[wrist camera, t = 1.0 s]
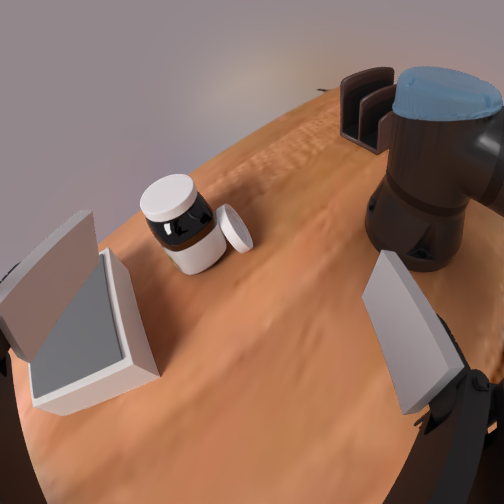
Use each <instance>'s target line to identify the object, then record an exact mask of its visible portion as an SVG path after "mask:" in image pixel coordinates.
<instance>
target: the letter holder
mask: <svg viewBox="0 0 504 504" xmlns="http://www.w3.org/2000/svg"><path fill="white" fill-rule="evenodd" d="M393 83H394V69H393V68H390V67H377V68H372V69H368V70H364V71H361V72H358V73H355V74H352V75H350V76H348V77H346V78H344V79H343V80H342V82H341V85H340V105H341V113H340V114H341V118H340V121H341V128H340V135H341V136H342V137H344V138H346V139H348V140H350V141H352V142H354V143H356V144H358V145H360V146H361V147H363V148H365V149H367V150H369V151H371V152H373V153H374V154H376V155H379V154H380V153H382V152H383V151H385V150H387V149H388V148H390V141H391V132H392V123H393V108H392V106H393V103H394V101H395V95H396V87H397V84H395V85H393Z"/></svg>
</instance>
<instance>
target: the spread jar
mask: <svg viewBox="0 0 504 504" xmlns="http://www.w3.org/2000/svg"><path fill="white" fill-rule="evenodd" d="M140 207H141V209H142V211H143V212H144V214H145V216H146V221H147V224H148V226H149V228H150V230H151V231H152V233H153V235H154V237H155V238H156V240H157V241H158V242H159V244H160V245H161V247H162V248H163V250H164V251H165V253H166V254H167V256H168V257H169V258H170V260H171V261H172V262H173V264H174V265H175V266H176V267H177V268H178V269H179V270H180V271H182V272H183V273H185V274H187V275H196V274H199V273H202V272H204V271H206V270H207V269H209V268H210V267H212V266H213V265H214V264H215V263H216V262H217V261H218V260H219V259H220V258H221V257H222V256H223V254H224V252H225V250H226V241H225V238H224V235H223V233H224V234H225V236H226V238H227V239H228V241H229V242H230V243H231V245H232V246H233V247H234V248H235V249H236V250H237V251H239V252H240V253H245V252H247V251H249V250H250V249H252V248H253V242H252V238H251V236H250V234H249V231H248V229H247V228H246V226H245V224H244V222H243V221H242V219H241V218H240V216H239V215H238V214H237V212H236V211H235V210H234V209H233V208H232V207H231V206H230V205H229V204H227V203H226V204H224V205H222V206H221V207H219V208H217V210H216V216H215V214H214V212H213V210H212V209H211V207H210V205H209V204H208V203H207V201H206V200H205V199H204V197H203V196H202V195H201V194H200V193H199V192H198V191H197V189H196V187H195V184H194V182H193V180H192V178H191V177H190V176H188V175H185V174H173V175H169V176H166V177H163V178H161V179H159V180H158V181H156V182H155V183H153V184H152V185H150V186H149V188H147V189H146V191H145V192H144V194H143V195H142V197H141V200H140ZM216 217H217V218H216ZM221 229H222V230H221ZM222 231H223V232H222Z"/></svg>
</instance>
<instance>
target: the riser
mask: <svg viewBox="0 0 504 504" xmlns="http://www.w3.org/2000/svg"><path fill="white" fill-rule="evenodd" d="M99 258H100V263H99V264H98V265H97V266H96V268H95V269H94V270H93V272H92V273H91V274H90V276H89V277H88V278H87V279H86V281H85V282H84V283H83V285H82V286H81V288H80V289H79V290H78V292H77V293H76V294H75V296H74V297H73V299H72V300H71V301H70V303H69V304H68V306H67V307H66V309H65V310H64V312H63V313H62V314H61V316H60V317H59V319H58V320H57V322H56V323H55V325H54V327H53V328H52V330H51V331H50V333H49V334H48V336H47V338H46V339H45V341H44V342H43V344H42V346H41V347H40V349H39V351H38V352H37V354H36V356H35V357H34V359H33V361H32V363H31V364H30V363H28V368H29V379H30V388H31V396H32V402H33V407H34V408H37V409H40V410H43V411H47V412H50V413H53V414H57V415H61V416H66V415H69V414H72V413H74V412H77V411H80V410H83V409H85V408H88V407H91V406H93V405H96V404H98V403H101V402H104V401H106V400H109V399H111V398H114V397H116V396H118V395H121V394H123V393H126V392H128V391H130V390H133V389H135V388H137V387H140V386H142V385H144V384H146V383H149V382H151V381H153V380H155V379H158V378H160V375H159V372H158V369H157V366H156V363H155V361H154V358H153V355H152V352H151V349H150V346H149V343H148V339H147V336H146V333H145V330H144V326H143V323H142V320H141V316H140V313H139V309H138V305H137V302H136V298H135V294H134V290H133V286H132V282H131V278H130V273H129V270H128V269H127V268H126V267H125V266H124V265H123V263H122V262H121V261H120V260H119V259H118V258H117V257H116V255H115V254H114V253H113V252H112V251H111V250H110V248H109V247H108V248H106V249H104V250H103V251H101V252H100V253H99Z"/></svg>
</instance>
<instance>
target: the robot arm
mask: <svg viewBox="0 0 504 504" xmlns="http://www.w3.org/2000/svg"><path fill="white" fill-rule="evenodd" d="M392 108H393V123H392V132H391V141H390V148H389V156H388V163H387V169H386V174H385V176H384V177H383V179H382V180H381V182H380V184H379V185H378V187H377V188H376V190H375V191H374V193H373V194H372V196H371V198H370V200H369V202H368V205H367V210H366V216H365V227H366V231H367V234H368V236H369V239H370V240H371V242H372V244H373V245H374V246H375V248H376V249H377V250H378V251H379V252H380V255H379V257H378V260H377V262H376V265H375V267H374V270H373V272H372V274H371V277H370V279H369V281H368V283H367V286H366V288H365V290H364V292H363V294H362V300H363V302H364V304H365V307H366V309H367V312H368V314H369V317H370V319H371V322H372V325H373V327H374V330H375V332H376V335H377V338H378V341H379V343H380V346H381V349H382V352H383V354H384V357H385V360H386V363H387V366H388V369H389V372H390V375H391V378H392V381H393V384H394V387H395V390H396V394H397V397H398V400H399V404H400V407H401V410H402V414H403V415H406V414H412V413H417V412H419V411H420V410H422V409H423V408H424V407H425V406H426V405H427V404H429V407H430V410H429V411H428V412H427V413H426V414H424V415H423V416H422V417H421V418H420V419H419V420H417V421H416V422H415V424H414V426H417V425H418V424H419V423H421V422H422V421H423V422H422V425H421V426H420V427H419V429H420V430H419V433H418V435H417V437H416V440H415V442H414V444H413V447H412V449H411V451H410V453H409V455H408V458H407V460H406V462H405V464H404V466H403V468H402V470H401V472H400V474H399V476H398V477H397V479H396V481H395V483H394V485H393V487H392V488H391V490H390V492H389V494H388V495H387V497H386V499H385V500H384V502H383V503H382V504H504V378H503V379H502V380H501V382H500V383H499V384H493V383H490V382H489V380H488V378H487V377H486V375H485V374H484V373H482V372H481V371H479V370H477V369H472V370H471V369H470V367H469V365H468V363H467V361H466V359H465V357H464V355H463V353H462V351H461V349H460V348H459V346H458V344H457V342H455V338H454V337H453V335H452V334H451V331H450V330H449V328H448V326H447V324H446V323H445V322H444V321H443V319H442V318H441V317H440V316H439V315H438V314H436V313H435V312H434V310H433V308H432V307H431V305H430V303H429V302H428V300H427V299H426V297H425V295H424V294H423V292H422V291H421V289H420V288H419V286H418V285H417V283H416V281H415V280H414V278H413V277H412V275H411V274H410V273H409V271H408V270H411V271H416V272H432V271H436V270H439V269H441V268H443V267H445V266H446V265H447V264H448V263H450V261H451V260H452V259H453V257H454V256H455V254H456V252H457V251H458V249H459V247H460V244H461V241H462V235H463V227H464V217H465V209H466V206H467V204H468V202H469V200H470V198H471V199H473V200H475V201H477V202H479V203H481V204H483V205H484V206H486V207H488V208H490V209H491V210H493V211H495V212H496V213H498V214H499V215H501V216H503V217H504V106H503V101H502V96H501V93H500V92H499V91H498V90H497V89H496V88H495V87H494V86H492V85H491V84H489V83H488V82H485V81H482V80H480V79H479V78H477V77H475V76H472V75H469V74H466V73H463V72H460V71H456V70H451V69H446V68H440V67H429V66H425V67H424V66H423V67H413V68H410V69H407V70H405V71H404V72H402V73H401V74H400V76H399V78H398V81H397V87H396V95H395V101H394V103H393V106H392ZM99 263H100V258H99V253H98V247H97V241H96V234H95V227H94V219H93V212H92V211H86V210H79V211H78V212H77V213H76V214H74V215H73V216H72V217H70V218H69V219H68V220H67V221H66V222H64V223H63V224H62V225H61V226H60V227H58V229H56V230H55V231H54V232H53V233H51V234H50V235H49V236H48V237H47V238H46V239H45V240H44V241H43V242H42V243H40V244H39V245H38V246H37V247H36V248H35V249H34V250H33V251H32V252H31V253H30V254H29V255H28V256H27V257H26V258H25V259H24V260H23V261H21V262H20V263H18V264H17V265H15V266H14V267H13V268H12V269H11V270H10V271H9V272H8V275H5V277H4V278H3V279H2V281H0V504H47V501H46V499H45V497H44V495H43V492H42V490H41V487H40V485H39V482H38V480H37V477H36V474H35V472H34V469H33V466H32V463H31V460H30V457H29V453H28V450H27V447H26V443H25V439H24V436H23V432H22V428H21V423H20V419H19V414H18V409H17V403H16V397H15V391H14V384H13V375H12V365H11V358H10V355H9V353H8V351H9V349H10V347H11V348H12V349H13V351H14V352H15V354H16V355H17V357H18V358H20V359H22V360H24V361H26V362H28V363H30V364H31V363H32V361H33V359H34V357H35V356H36V354H37V352H38V351H39V349H40V347H41V346H42V344H43V342H44V341H45V339H46V338H47V336H48V334H49V333H50V331H51V330H52V328H53V327H54V325H55V323H56V322H57V320H58V319H59V317H60V316H61V314H62V313H63V312H64V310H65V309H66V307H67V306H68V304H69V303H70V301H71V300H72V299H73V297H74V296H75V294H76V293H77V292H78V290H79V289H80V288H81V286H82V285H83V283H84V282H85V281H86V279H87V278H88V277H89V276H90V274H91V273H92V272H93V270H94V269H95V268H96V266H97V265H98V264H99ZM407 269H408V270H407ZM496 421H497V428H496V429H495V430H493V431H492V432H491V433H489V434H488V428H489V427H490V426H491V425H493V424H494V423H495V422H496Z"/></svg>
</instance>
